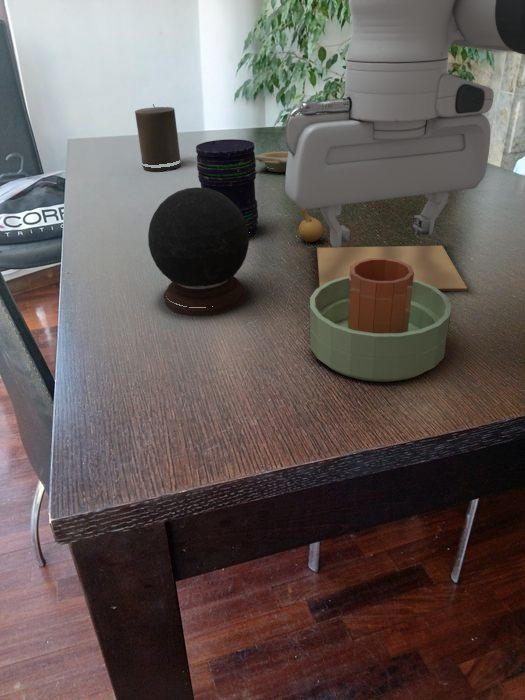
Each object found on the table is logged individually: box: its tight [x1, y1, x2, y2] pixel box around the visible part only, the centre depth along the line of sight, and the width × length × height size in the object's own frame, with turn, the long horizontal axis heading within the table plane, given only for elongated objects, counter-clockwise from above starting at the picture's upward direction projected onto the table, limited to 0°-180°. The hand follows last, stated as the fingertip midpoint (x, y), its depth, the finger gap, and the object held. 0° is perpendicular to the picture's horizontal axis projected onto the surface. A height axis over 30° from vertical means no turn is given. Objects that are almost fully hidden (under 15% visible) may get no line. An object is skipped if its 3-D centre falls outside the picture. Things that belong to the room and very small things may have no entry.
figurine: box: [298, 209, 323, 243], centre depth 93 cm, size 8×6×12 cm
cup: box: [347, 258, 414, 334], centre depth 63 cm, size 7×7×9 cm
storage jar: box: [195, 138, 259, 240], centre depth 97 cm, size 10×10×15 cm
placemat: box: [316, 245, 468, 292], centre depth 85 cm, size 20×16×1 cm
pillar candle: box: [134, 104, 182, 172], centre depth 142 cm, size 10×10×15 cm
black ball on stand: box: [147, 187, 250, 317], centre depth 75 cm, size 13×13×15 cm
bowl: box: [309, 276, 452, 383], centre depth 64 cm, size 15×15×6 cm
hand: (381, 239), depth 59 cm, fingers open, 8 cm apart
